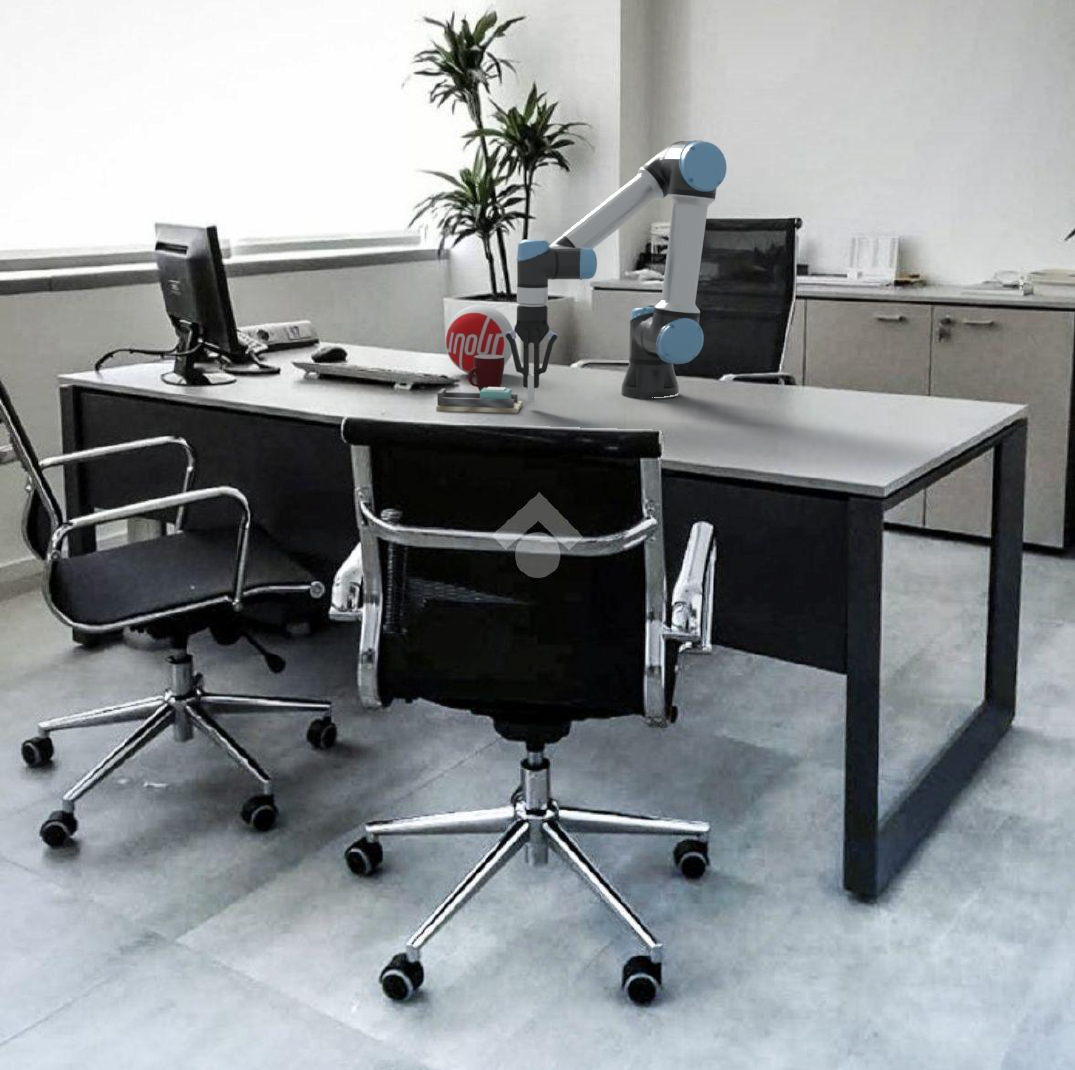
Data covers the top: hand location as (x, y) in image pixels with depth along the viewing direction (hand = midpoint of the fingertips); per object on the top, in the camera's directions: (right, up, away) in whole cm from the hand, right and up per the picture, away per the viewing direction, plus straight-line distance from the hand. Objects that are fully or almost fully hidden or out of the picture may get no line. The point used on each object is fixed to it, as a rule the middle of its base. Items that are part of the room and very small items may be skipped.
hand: (530, 400), depth 326 cm
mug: (-12, +3, +20) cm, 24 cm away
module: (-9, -1, +1) cm, 9 cm away
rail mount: (-13, -2, +2) cm, 13 cm away
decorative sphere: (-15, +12, +52) cm, 56 cm away
